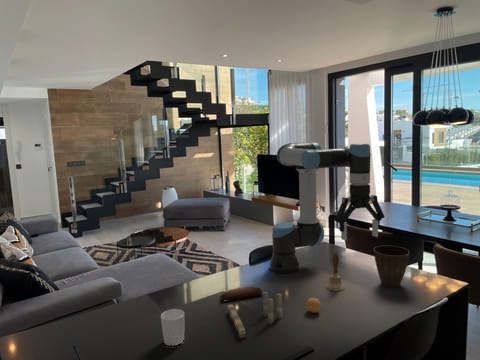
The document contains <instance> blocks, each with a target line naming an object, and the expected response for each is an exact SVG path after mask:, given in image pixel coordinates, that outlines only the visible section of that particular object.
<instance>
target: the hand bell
mask: <svg viewBox="0 0 480 360" xmlns="http://www.w3.org/2000/svg"><path fill="white" fill-rule="evenodd" d="M339 261H340V260H339V256H338V252H334V253H333V257H332V265H333V273H332V274H330V276H329V280H328V282H327V284H326V285H325V288H326V289H327V290H329V291H331V292H342V291H344V290H345V287H346V286H345V285H344V284H343V283H342V279H341V275H339V274H338V266H339Z"/></svg>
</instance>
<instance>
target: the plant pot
mask: <svg viewBox="0 0 480 360" xmlns="http://www.w3.org/2000/svg"><path fill="white" fill-rule="evenodd" d="M410 254H411V253H410V250H409V249H407V248H405V247H403V246H402V247H401V246H397V245H378V246H375V247H374V248H373V256H374V260H375V266H376V270H377V273H378V277H379V280H380V282H381V284H382V286H384V287H387V288H392V289H393V288H394V289H395V288H398V287H400V286H401V284H402V281H403V279H404V276H405V273H406V271H407V267H408V263H409V258H410Z"/></svg>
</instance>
